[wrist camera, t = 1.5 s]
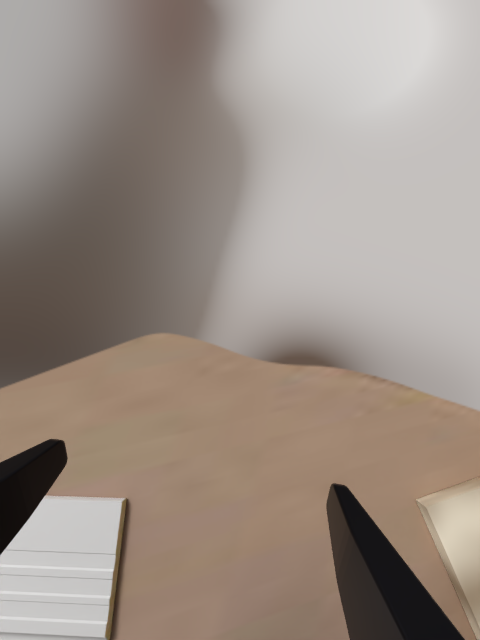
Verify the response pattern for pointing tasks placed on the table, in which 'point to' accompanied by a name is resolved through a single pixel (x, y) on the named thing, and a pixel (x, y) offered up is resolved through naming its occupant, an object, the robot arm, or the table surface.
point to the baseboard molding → (63, 571)
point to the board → (458, 540)
